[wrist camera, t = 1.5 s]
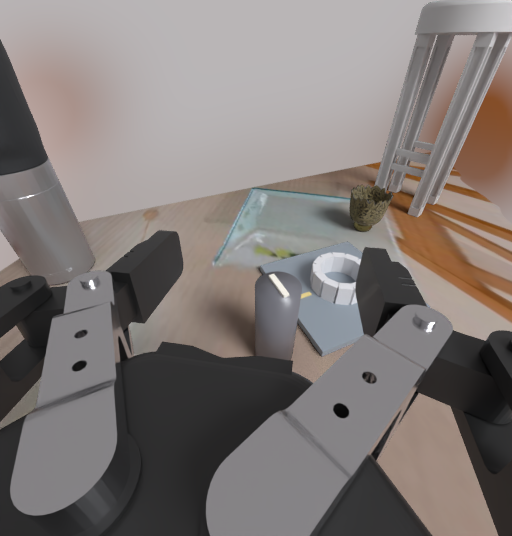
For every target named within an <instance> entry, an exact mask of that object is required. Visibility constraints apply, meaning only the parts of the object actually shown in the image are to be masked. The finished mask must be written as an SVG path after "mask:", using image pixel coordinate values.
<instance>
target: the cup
mask: <svg viewBox="0 0 512 536" xmlns="http://www.w3.org/2000/svg"><path fill="white" fill-rule="evenodd" d="M385 191H386V189H385V188H382V189H381V188H380V187H379V186H377V185H376V186H374V187H372V188H371V186H370V185H367V186H366V188H365V187H364V186H363V185H361V186H360V187H359V185H358V186H357V188H356V189H354V188H353V190H351V200H350V216H351V218H352V220H353V221H354V223H353V225H354V228H355V229H356V230H359V231H363V232H365V231H369V230H370V229H371V228H372V225H374V224H376V223H378V222H379V221H380V220H381V219H382V217H383V216H384V214H385V212H386V210H387V208H388V206H389V204H390V201H391V199H392V197H393V195H392V192H389V194H386V193H385Z"/></svg>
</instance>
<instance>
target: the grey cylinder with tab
mask: <svg viewBox="0 0 512 536" xmlns="http://www.w3.org/2000/svg"><path fill="white" fill-rule="evenodd" d="M301 294H302V285H301V283H300V281H299V280H298V279H297V278H296V277H295V276H293V275H291V274H289V273H286V272H280V271H275V272H269V273H266V274H264V275H262V276H260V277H259V278H258V280H257V281H256V284H255V355H256V356H263V357H270V358H277V359H284V360H291V358H292V354H293V347H294V341H295V334H296V327H297V320H298V314H299V307H300V300H301Z"/></svg>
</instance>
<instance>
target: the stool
mask: <svg viewBox="0 0 512 536" xmlns="http://www.w3.org/2000/svg"><path fill="white" fill-rule="evenodd" d="M415 34H416V35H417V39H416V43H415V46H414V49H413V53H412V57H411V60H410V63H409V67H408V70H407V74H406V77H405V81H404V84H403V88H402V91H401V95H400V98H399V102H398V105H397V109H396V112H395V116H394V119H393V123H392V127H391V130H390V133H389V137H388V140H387V144H386V147H385V151H384V154H383V158H382V161H381V165H380V168H379V172H378V175H377V179H376V182H375V186H376V185H377V186H379V187H380V188H381V189H382V188H385V189H386V191H387V187H388V184H389V181H390V178H391V175H392V172H393V170H394V173H393V176H392V179H391V182H390V186H389V189H388V191H391V192H394V193H397V192H399V191H400V189H401V186H402V184H403V181H404V178H405V175H406V173H408V174H411V175H415V176H419V177H422V178H421V180H420V183H419V185H418V188H417V190H416V193H415V196H414V198H413V201H412V203H411V206H410V208H409V211H408V213H407V214H409V215H412V216H415V217H418V216H419V215H421V214H422V212H423V209H424V207H425V205H426V203H429V204H432V205H434V204H435V203H436V202H437V201H438V198H439V196H440V194H441V192H442V190H443V187H444V185H445V183H446V181H447V179H448V176H449V174H450V172H451V170H452V168H453V165H454V163H455V161H456V159H457V156H458V154H459V152H460V150H461V148H462V145H463V143H464V141H465V139H466V137H467V134H468V132H469V130H470V128H471V126H472V123H473V121H474V119H475V116H476V115H477V112H478V110H479V108H480V106H481V103H482V101H483V99H484V97H485V95H486V93H487V90H488V88H489V86H490V84H491V82H492V79H493V77H494V75H495V73H496V70H497V68H498V66H499V64H500V61H501V59H502V57H503V55H504V53H505V51H506V48H507V46H508V44H509V42H510V40H511V37H512V0H440V1H435V2H430V3H428V4H427V5H425V6H424V7H423V9H422V11H421V15H420V18H419V22H418V25H417V28H416V32H415ZM436 35H438V36H437V40H436V43H435V46H434V49H433V52H432V55H431V58H430V61H429V64H428V68H427V71H426V74H425V77H424V80H423V83H422V86H421V90H420V92H419V95H418V99H417V102H416V105H415V108H414V111H413V114H412V117H411V120H410V123H409V127H408V130H407V133H406V136H405V139H404V142H403V145H402V148H401V149H400V147H401V143H402V140H403V137H404V134H405V131H406V128H407V125H408V121H409V118H410V115H411V112H412V109H413V106H414V103H415V99H416V96H417V93H418V90H419V87H420V84H421V80H422V78H423V74H424V71H425V68H426V65H427V62H428V59H429V55H430V52H431V49H432V46H433V43H434V40H435V36H436ZM455 35H477V37H476V40H475V42H474V45H473V48H472V50H471V52H470V55H469V57H468V60H467V63H466V65H465V68H464V70H463V73H462V75H461V78H460V80H459V83H458V86H457V88H456V91H455V93H454V96H453V99H452V101H451V103H450V106H449V109H448V111H447V114H446V116H445V119H444V121H443V124H442V127H441V129H440V132H439V134H438V137H437V140H436V142H435V144H431V143H426V142H420V141H418V138H419V135H420V132H421V129H422V127H423V124H424V121H425V118H426V115H427V112H428V110H429V107H430V104H431V101H432V98H433V95H434V93H435V89H436V87H437V84H438V81H439V78H440V76H441V73H442V70H443V67H444V64H445V61H446V58H447V56H448V53H449V50H450V47H451V44H452V41H453V39H454V36H455ZM415 147H417V148H421V149H426V150H431V151H432V152H431V155H428V154H423V153H418V152H414V149H415ZM398 155H399V158H398V161H397V163H395V162H396V159H397V156H398ZM410 161H413V162H418V163H422V164H426V167H425V170H421V169H417V168H413V167H409V164H410ZM386 191H385V193H386Z"/></svg>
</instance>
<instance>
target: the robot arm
mask: <svg viewBox="0 0 512 536" xmlns="http://www.w3.org/2000/svg"><path fill="white" fill-rule="evenodd" d="M0 230H1V232H2V233H3V235H4V236H5V237H6V239H7V240H8V242H9V243H10V245H11V246H12V247H13V249H14V251H15V252H16V254H17V255H18V257H19V258H20V259H21V261H22V263H23V264H24V265H25V267H26V268H27V270H28V271H29V273H30V274H31V275H32V276H26V277H22V278H18V279H15V280H13V281H10V282H8V283H6V284H5V285H3V286H2V287H0V338H1V337H2V336H3V335H4V334H6V333H7V332H8V331H9V330H11V329H12V328H13V327H14V326H15V325H16V326H17V327H18V329H19V330H20V332H21V334H22V335H23V337H24V338H25V339H24V340H23V341H22V342H21V343H20V344H19V345H17V346H16V347H15V348H14V349H13V350H12V351H11V352H10V353H9V354H7V355H6V356H5V357H4V358H3V359H2V360H1V361H0V422H1V420H2V419H3V418H4V417H5V416H6V415H7V414H8V413H9V412H10V411H11V409H12V408H13V407H14V406H15V405H16V404H17V403H18V402H19V401H20V400H21V398H22V397H23V396H24V395H25V394H26V393H27V392H28V391H29V390H30V388H31V387H32V386H33V385H34V384H35V383H36V382H37V381H38V380H39V379H40V377H41V382H40V387H39V392H38V398H37V403H36V406H35V408H34V410H33V411H31V412H30V413H29V414H27V415H25V416H23V417H22V418H20V419H18V420H16V421H15V422H13V423H11V424H9V425H7V426H6V427H4V428H2V429H0V536H432V535H431V533H430V532H429V531H428V529H427V528H426V527H425V525H424V524H423V523H422V521H421V520H420V519H419V517H418V516H417V515H416V513H415V512H414V511H413V509H412V508H411V507H410V505H409V504H408V503H407V501H406V500H405V499H404V497H403V496H402V495H401V493H400V492H399V491H398V489H397V488H396V487H395V485H394V484H393V483H392V481H391V480H390V479H389V477H388V476H387V475H386V473H385V472H384V471H383V469H382V468H381V467H380V465H379V464H378V463H377V462H378V460H379V458H380V457H381V455H382V454H383V452H384V450H385V448H386V447H387V445H388V443H389V442H390V440H391V438H392V436H393V435H394V433H395V431H396V430H397V428H398V427H399V425H400V424H401V422H402V420H403V419H404V417H405V416H406V414H407V413H408V411H409V410H410V408H411V406H412V405H413V403H414V402H415V400H416V399H417V397H418V395H419V394H420V393H421V394H423V395H426V396H428V397H430V398H433V399H435V400H438V401H440V402H442V403H445V404H447V405H450V406H451V409H452V411H453V414H454V417H455V419H456V422H457V425H458V428H459V430H460V433H461V436H462V438H463V441H464V444H465V446H466V449H467V452H468V454H469V457H470V460H471V463H472V465H473V468H474V471H475V473H476V476H477V479H478V481H479V484H480V487H481V490H482V492H483V495H484V498H485V500H486V503H487V506H488V508H489V511H490V514H491V516H492V519H493V522H494V525H495V527H496V530H497V533H498V535H499V536H512V332H510V331H495V332H492V333H491V334H490V335H489V337H488V338H487V340H486V341H484V340H481V339H478V338H474V337H471V336H468V335H465V334H462V333H459V332H456V331H454V330H453V326H452V324H451V322H450V321H449V320H448V319H447V318H446V317H445V316H444V315H443V314H441V313H440V312H438V311H436V310H434V309H432V308H429V307H427V305H426V303H425V301H424V300H423V298H422V296H421V294H420V292H419V290H418V288H417V287H416V286H415V283H414V281H413V280H412V277H411V275H410V273H409V271H408V270H407V269H406V268H405V267H404V266H402V265H401V264H400V263H399V262H391V260H390V258H389V255H388V253H387V251H386V249H380V248H368V247H365V248H364V250H363V254H362V258H361V262H360V266H359V271H358V275H357V279H356V286H355V293H356V299H357V304H358V309H359V314H360V318H361V323H362V328H363V333H364V335H363V336H362V337H361V338H360V339H359V340H358V341H357V342H356V343H355V344H354V345H353V346H352V347H351V348H350V349H348V350H347V351H346V352H345V353H344V354H343V355H342V356H341V357H340V358H339V359H338V360H337V361H336V362H335V363H334V364H333V365H332V366H331V367H330V368H329V369H328V370H327V371H326V372H325V373H324V374H323V375H322V376H321V377H320V378H319V379H318V380H316V381H315V382H314V383H312V382H311V381H309V380H308V379H306V378H305V377H303V376H301V375H299V374H297V373H294V372H292V364H293V361H290V360H284V359H277V358H270V357H263V356H249V357H233V358H221V357H218V356H216V355H213V354H211V353H209V352H206V351H204V350H201V349H199V348H196V347H194V346H189V345H182V344H175V343H169V342H162V343H161V345H160V346H159V348H158V350H157V351H156V352H149V353H144V354H140V355H137V356H134V351H133V345H132V338H131V332H130V329H129V326H128V325H129V324H130V323H131V322H136V323H145V322H146V321H147V319H148V318H149V317H150V315H151V314H152V313H153V311H154V310H155V309H156V307H157V306H158V305H159V303H160V302H161V301H162V299H163V298H164V297H165V295H166V294H167V293H168V291H169V290H170V289H171V287H172V286H173V285H174V283H175V282H176V281H177V279H178V278H179V277H180V275H181V274H182V271H183V258H182V252H181V246H180V240H179V236H178V233H177V232H174V231H162V230H159V231H157V232H156V233H155V234H154V235H153V236H151V237H150V238H149V239H148V240H146V241H144V242H142V243H140V244H137V245H136V246H135V247H134V248H132V249H131V250H130V252H128V253H126V254H125V255H124V257H122V258H120V259H119V260H118V261H117V262H116V263H114V264H113V265H112V266H111V267H110V268H108V269H107V270H106V271H101V270H100V271H91V272H87V271H88V270H90V269H91V267H92V266H93V265H94V262H95V257H94V255H93V253H92V251H91V249H90V246H89V244H88V242H87V240H86V238H85V235H84V233H83V231H82V229H81V227H80V225H79V222H78V220H77V218H76V216H75V214H74V212H73V209H72V207H71V205H70V203H69V201H68V199H67V197H66V195H65V192H64V190H63V188H62V186H61V184H60V182H59V179H58V177H57V175H56V173H55V171H54V169H53V167H52V165H51V162H50V160H49V158H48V156H47V154H46V151H45V149H44V147H43V144H42V141H41V137H40V134H39V131H38V128H37V125H36V123H35V121H34V118H33V116H32V114H31V112H30V109H29V107H28V104H27V102H26V99H25V97H24V95H23V92H22V90H21V87H20V84H19V82H18V79H17V77H16V74H15V72H14V69H13V67H12V64H11V62H10V59H9V57H8V55H7V52H6V50H5V48H4V46H3V44H2V42H1V40H0ZM86 272H87V273H86ZM68 281H70V282H69V283H68V286H62V287H51V288H50V287H49V285H55V284H61V283H65V282H68Z"/></svg>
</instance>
